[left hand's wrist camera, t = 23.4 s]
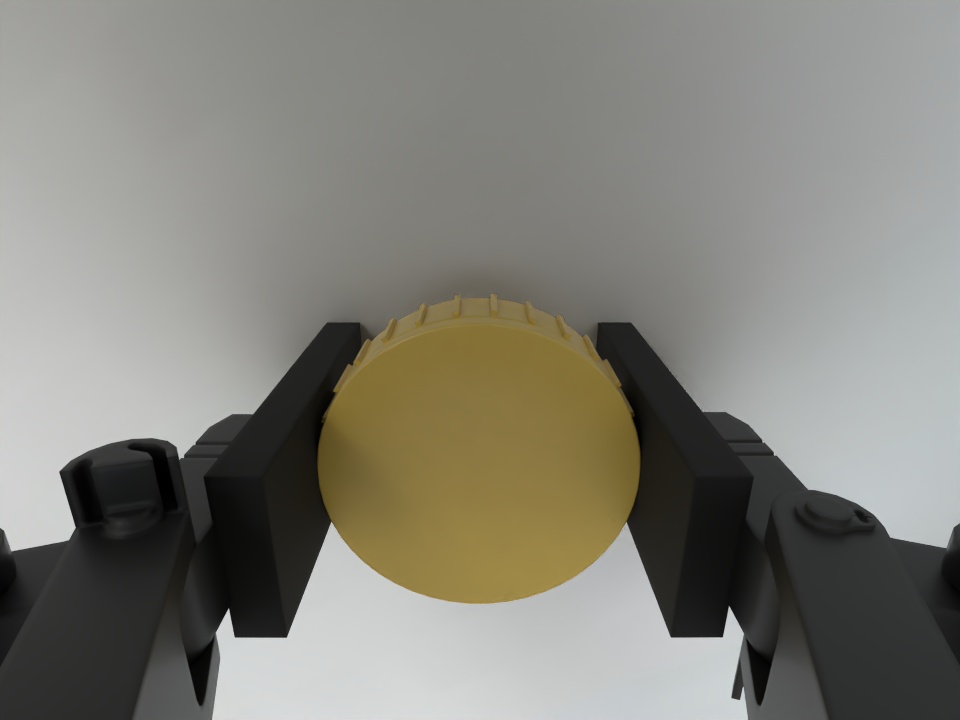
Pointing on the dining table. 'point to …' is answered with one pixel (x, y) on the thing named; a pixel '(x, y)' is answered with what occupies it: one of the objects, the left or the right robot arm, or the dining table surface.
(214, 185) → the dining table surface
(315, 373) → the left robot arm
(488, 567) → the lid
